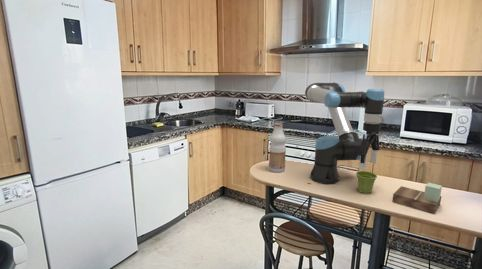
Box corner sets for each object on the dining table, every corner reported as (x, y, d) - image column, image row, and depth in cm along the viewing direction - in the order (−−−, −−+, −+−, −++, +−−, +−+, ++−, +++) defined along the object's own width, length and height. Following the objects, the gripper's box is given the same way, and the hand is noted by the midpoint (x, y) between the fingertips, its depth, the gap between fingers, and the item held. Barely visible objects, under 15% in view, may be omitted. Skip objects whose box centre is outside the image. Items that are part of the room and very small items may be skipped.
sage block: (423, 198, 121) (425, 185, 120) (426, 195, 125) (428, 182, 123) (437, 202, 118) (439, 189, 116) (439, 198, 121) (441, 185, 120)
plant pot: (372, 188, 142) (374, 171, 140) (377, 196, 133) (379, 178, 131) (353, 186, 144) (354, 170, 142) (356, 194, 135) (357, 177, 133)
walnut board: (392, 201, 127) (393, 193, 126) (400, 193, 135) (401, 186, 134) (434, 214, 116) (436, 205, 115) (440, 204, 125) (441, 196, 124)
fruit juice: (272, 173, 162) (273, 125, 156) (266, 168, 170) (267, 122, 164) (287, 172, 164) (289, 124, 158) (281, 167, 173) (282, 122, 167)
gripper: (370, 126, 120) (366, 174, 124) (389, 120, 137) (384, 162, 142) (353, 124, 125) (349, 170, 129) (373, 118, 142) (369, 159, 147)
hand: (367, 166), depth 135 cm, fingers open, 13 cm apart
